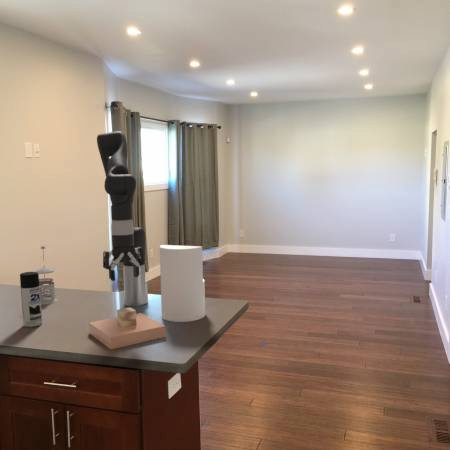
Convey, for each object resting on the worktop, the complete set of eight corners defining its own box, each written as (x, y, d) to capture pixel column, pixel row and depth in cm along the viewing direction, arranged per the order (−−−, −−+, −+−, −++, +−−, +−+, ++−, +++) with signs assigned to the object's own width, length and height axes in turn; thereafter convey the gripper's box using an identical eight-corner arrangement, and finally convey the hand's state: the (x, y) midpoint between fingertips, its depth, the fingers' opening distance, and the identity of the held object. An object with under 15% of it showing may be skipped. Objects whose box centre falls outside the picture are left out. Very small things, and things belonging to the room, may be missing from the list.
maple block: (130, 321, 181) (130, 307, 180) (136, 324, 177) (135, 310, 176) (117, 323, 178) (116, 309, 177) (123, 327, 174) (122, 313, 173)
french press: (53, 304, 221) (50, 247, 218) (26, 304, 221) (23, 247, 218) (60, 298, 231) (57, 244, 228) (35, 298, 231) (32, 244, 228)
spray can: (30, 328, 187) (27, 275, 184) (19, 326, 190) (15, 273, 188) (45, 323, 192) (42, 272, 190) (34, 321, 196) (31, 270, 194)
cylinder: (194, 323, 190) (193, 250, 187) (153, 319, 196) (151, 248, 193) (211, 311, 206) (210, 243, 203) (173, 307, 212) (171, 241, 209)
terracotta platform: (141, 322, 192) (140, 312, 191) (165, 337, 175) (165, 325, 175) (89, 333, 180) (89, 322, 180) (110, 349, 164) (110, 337, 163)
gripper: (136, 229, 181) (138, 274, 183) (98, 233, 173) (100, 279, 175) (146, 231, 175) (147, 277, 177) (107, 235, 167) (109, 283, 169)
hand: (124, 278), depth 176 cm, fingers open, 8 cm apart
